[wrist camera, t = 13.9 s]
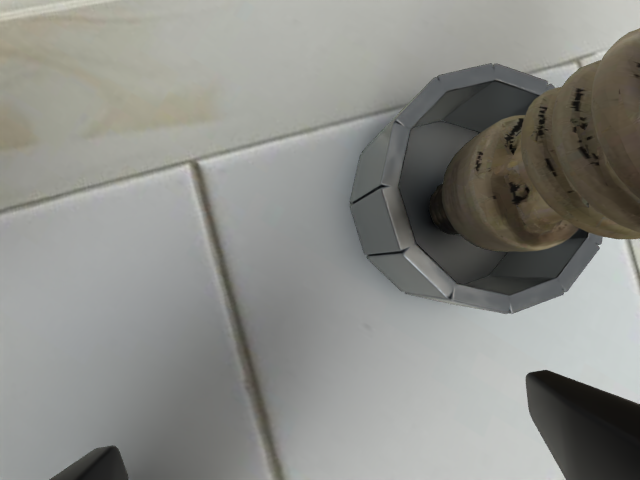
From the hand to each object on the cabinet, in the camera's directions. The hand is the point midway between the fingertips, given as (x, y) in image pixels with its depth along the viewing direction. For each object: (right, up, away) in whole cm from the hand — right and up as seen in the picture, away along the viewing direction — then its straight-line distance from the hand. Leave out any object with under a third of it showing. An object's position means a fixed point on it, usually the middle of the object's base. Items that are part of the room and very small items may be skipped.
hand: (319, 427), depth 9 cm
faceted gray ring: (+7, +6, +14) cm, 16 cm away
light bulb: (+7, +6, +14) cm, 16 cm away
